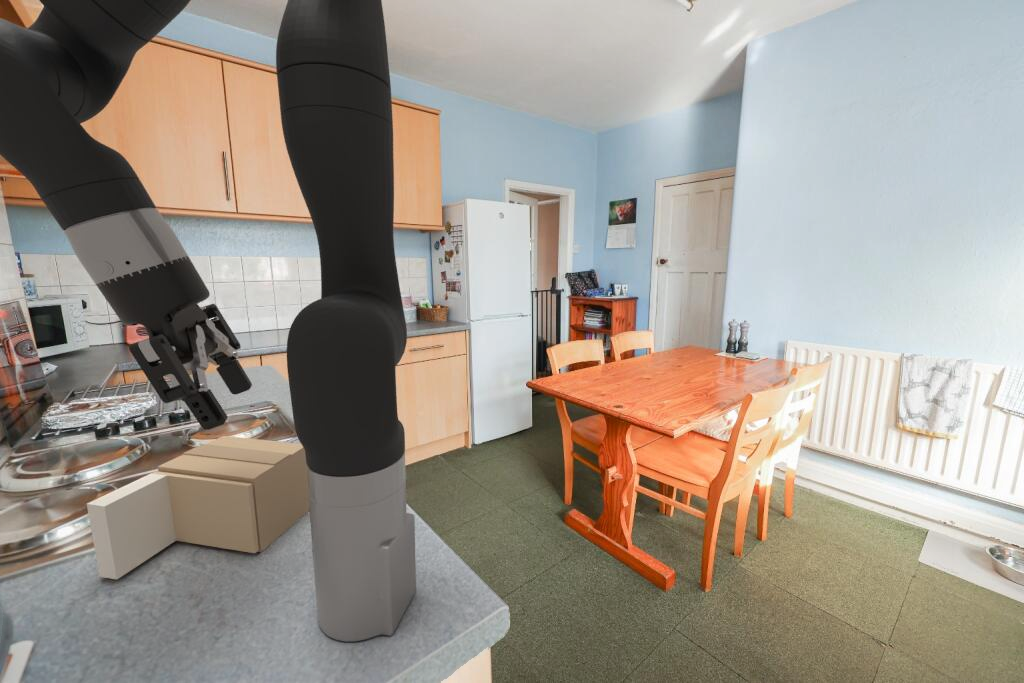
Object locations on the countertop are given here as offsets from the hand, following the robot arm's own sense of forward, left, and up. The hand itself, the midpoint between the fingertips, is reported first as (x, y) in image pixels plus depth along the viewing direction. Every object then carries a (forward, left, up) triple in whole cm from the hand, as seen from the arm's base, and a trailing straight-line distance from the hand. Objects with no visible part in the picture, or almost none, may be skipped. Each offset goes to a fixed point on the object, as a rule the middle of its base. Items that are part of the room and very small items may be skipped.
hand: (231, 406), depth 47 cm
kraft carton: (+8, -8, -20) cm, 23 cm away
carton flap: (+8, +1, -20) cm, 21 cm away
